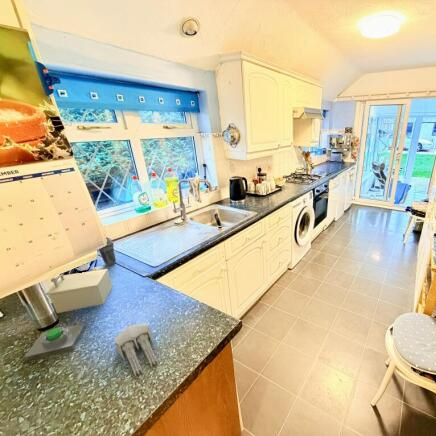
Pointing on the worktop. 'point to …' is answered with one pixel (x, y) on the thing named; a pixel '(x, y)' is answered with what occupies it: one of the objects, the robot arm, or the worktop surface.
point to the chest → (82, 296)
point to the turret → (135, 345)
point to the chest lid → (76, 281)
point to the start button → (53, 333)
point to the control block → (56, 343)
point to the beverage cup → (108, 253)
